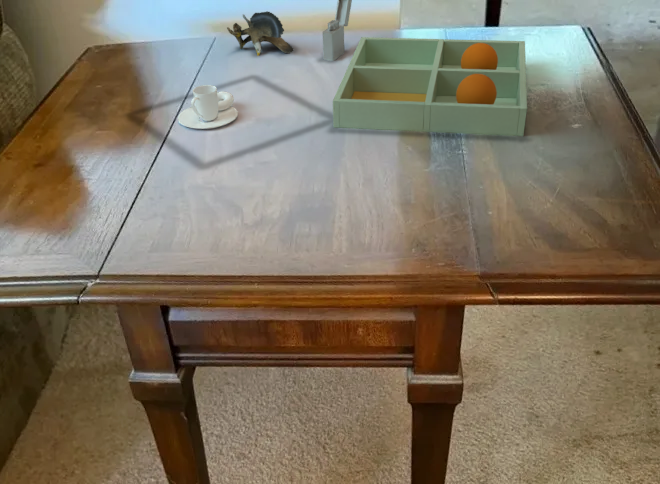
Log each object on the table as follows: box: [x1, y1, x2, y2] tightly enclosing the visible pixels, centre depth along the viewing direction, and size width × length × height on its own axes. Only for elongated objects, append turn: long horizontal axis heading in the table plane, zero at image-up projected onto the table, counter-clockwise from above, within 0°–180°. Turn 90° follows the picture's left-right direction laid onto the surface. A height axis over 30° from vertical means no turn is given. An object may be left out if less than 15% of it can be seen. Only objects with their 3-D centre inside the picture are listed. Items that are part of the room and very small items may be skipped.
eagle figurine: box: [226, 10, 295, 57], centre depth 119 cm, size 8×7×9 cm
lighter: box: [322, 0, 353, 62], centre depth 116 cm, size 7×2×8 cm, turn 153°
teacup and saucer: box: [177, 84, 239, 130], centre depth 101 cm, size 9×8×4 cm
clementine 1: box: [461, 43, 498, 70], centre depth 105 cm, size 5×5×5 cm
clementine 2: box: [456, 74, 497, 105], centre depth 97 cm, size 5×5×5 cm
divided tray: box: [332, 36, 528, 137], centre depth 103 cm, size 23×23×4 cm
